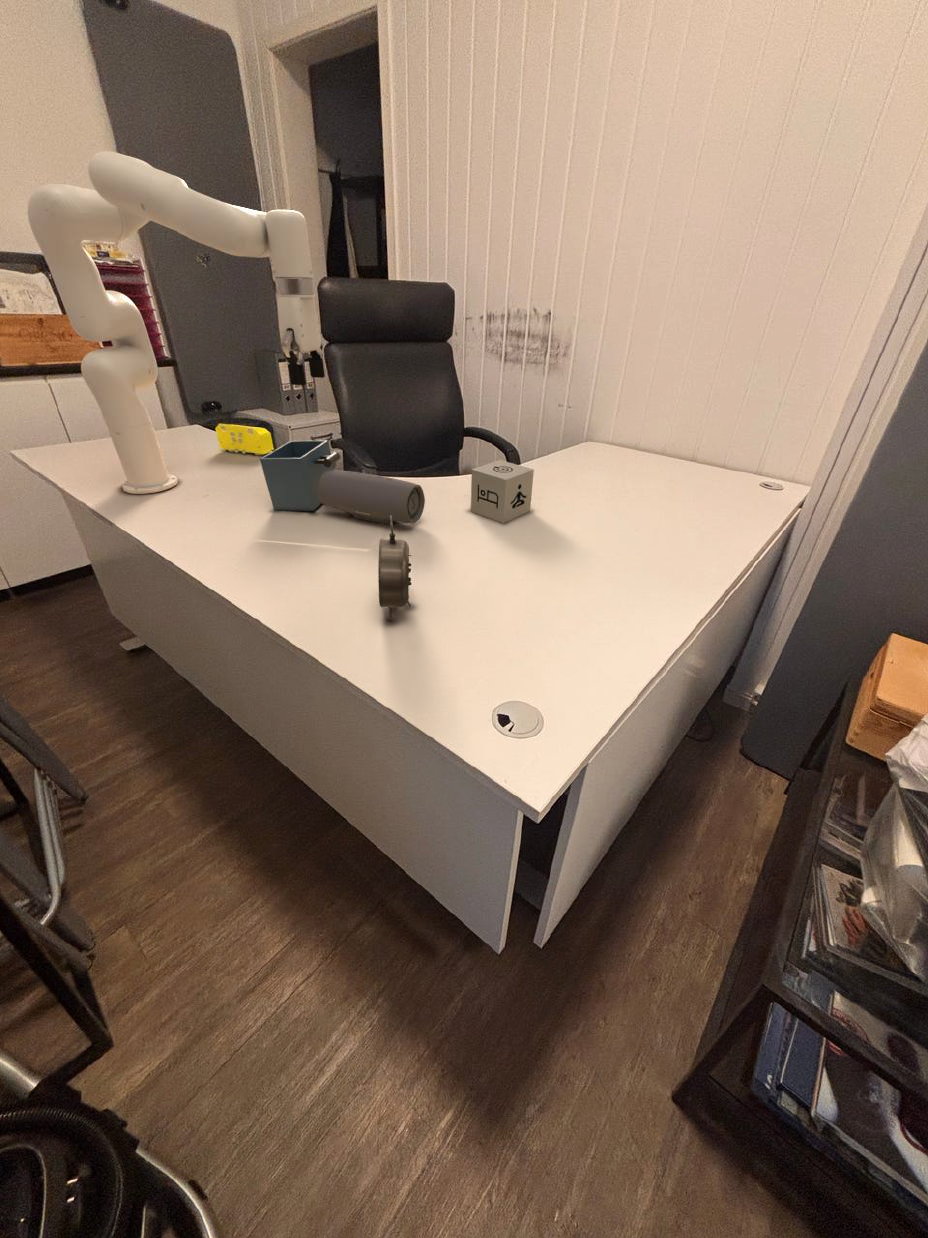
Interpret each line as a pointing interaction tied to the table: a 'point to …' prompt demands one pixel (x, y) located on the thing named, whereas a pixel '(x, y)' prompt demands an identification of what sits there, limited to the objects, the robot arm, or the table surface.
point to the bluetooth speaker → (372, 496)
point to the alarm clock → (393, 572)
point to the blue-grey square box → (297, 473)
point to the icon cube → (501, 490)
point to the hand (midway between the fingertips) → (308, 380)
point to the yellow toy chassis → (244, 439)
